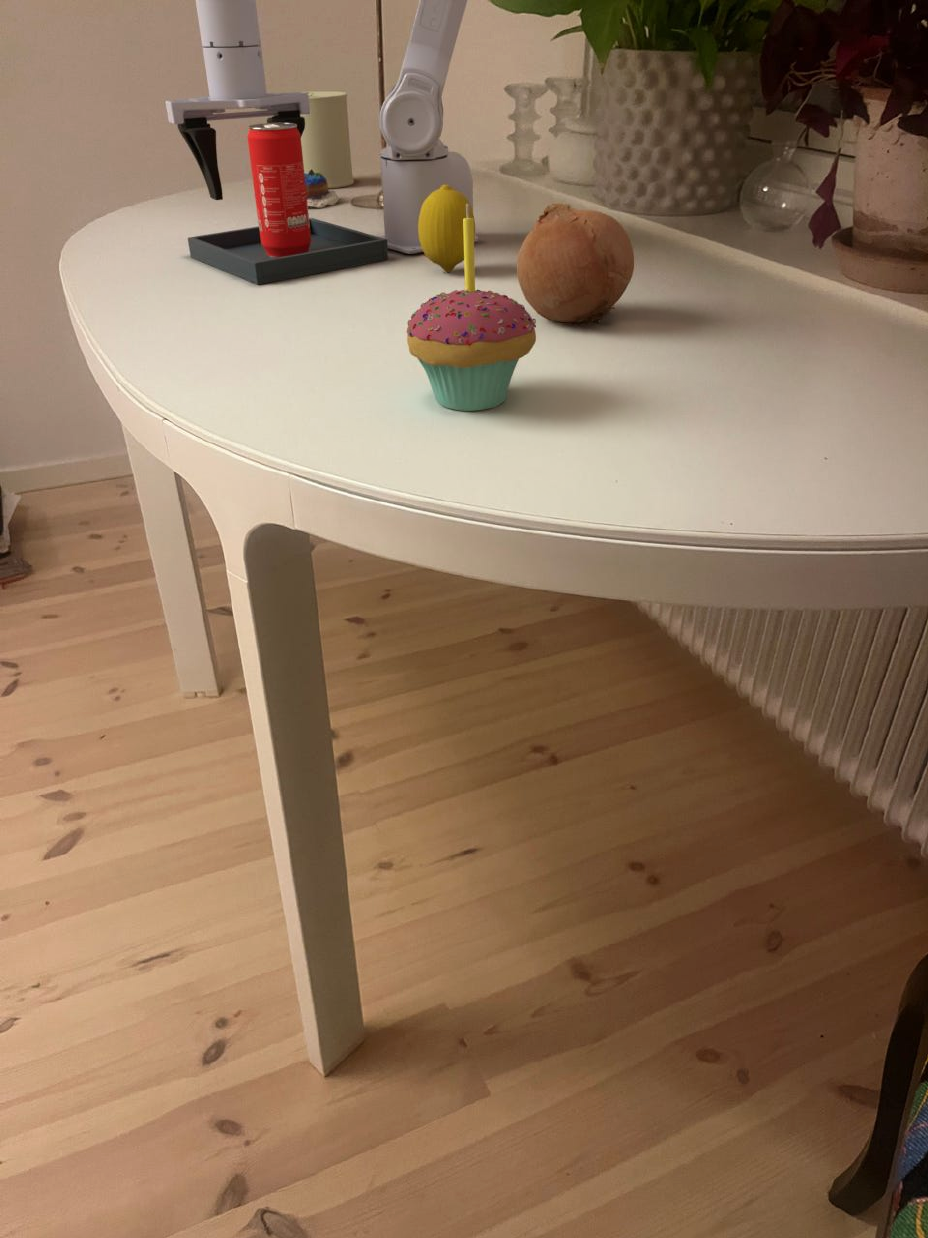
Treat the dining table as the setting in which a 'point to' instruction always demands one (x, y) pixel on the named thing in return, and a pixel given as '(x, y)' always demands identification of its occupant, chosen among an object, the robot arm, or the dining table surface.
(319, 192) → the dessert
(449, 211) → the lemon
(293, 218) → the beverage can
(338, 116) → the cream cylindrical container
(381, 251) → the tray
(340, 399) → the dining table surface
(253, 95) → the robot arm
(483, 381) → the cupcake
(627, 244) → the onion
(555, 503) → the dining table surface
